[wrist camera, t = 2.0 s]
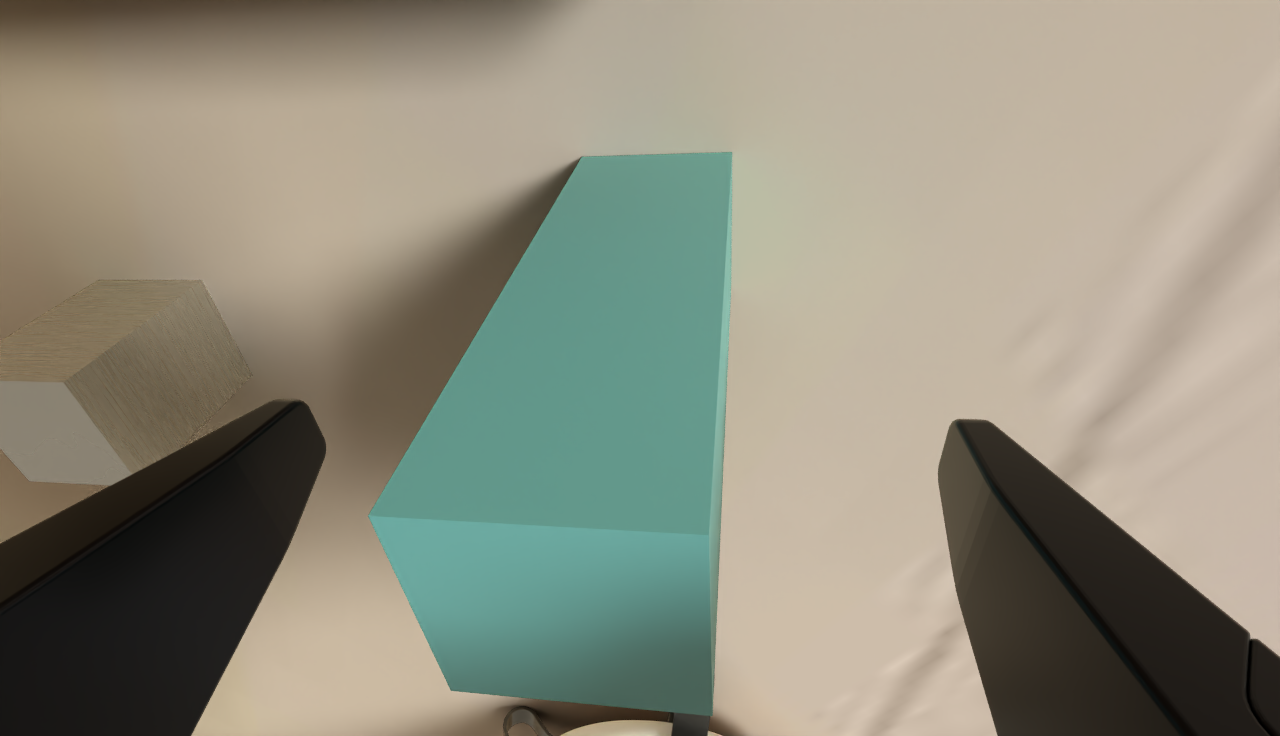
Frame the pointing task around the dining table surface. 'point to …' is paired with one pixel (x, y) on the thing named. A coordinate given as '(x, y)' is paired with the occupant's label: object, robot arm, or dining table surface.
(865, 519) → the dining table surface
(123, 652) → the robot arm
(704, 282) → the teal peg long
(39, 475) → the grey peg short
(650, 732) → the coffee press
